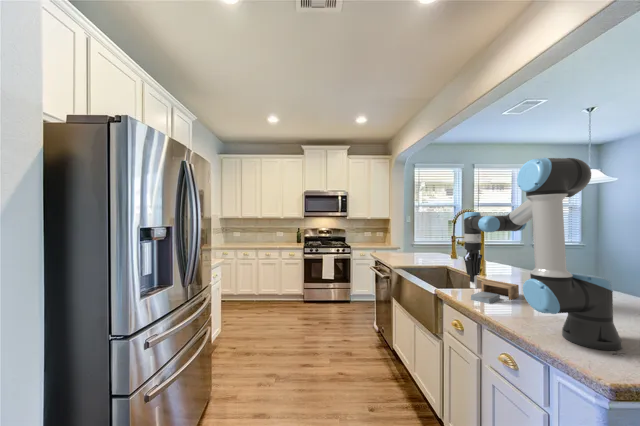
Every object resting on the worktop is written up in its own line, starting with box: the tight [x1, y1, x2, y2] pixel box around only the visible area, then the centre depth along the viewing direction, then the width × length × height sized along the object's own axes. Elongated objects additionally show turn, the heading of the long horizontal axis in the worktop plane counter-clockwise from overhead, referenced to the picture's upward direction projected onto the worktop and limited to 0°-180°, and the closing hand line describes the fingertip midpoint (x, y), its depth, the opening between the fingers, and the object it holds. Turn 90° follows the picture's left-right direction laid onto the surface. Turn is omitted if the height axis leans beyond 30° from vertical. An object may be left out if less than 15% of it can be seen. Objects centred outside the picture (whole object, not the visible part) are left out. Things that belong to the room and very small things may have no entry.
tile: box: [470, 290, 501, 305], centre depth 150 cm, size 12×9×3 cm
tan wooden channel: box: [480, 279, 520, 301], centre depth 157 cm, size 8×15×7 cm, turn 31°
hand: (473, 288), depth 145 cm, fingers closed
